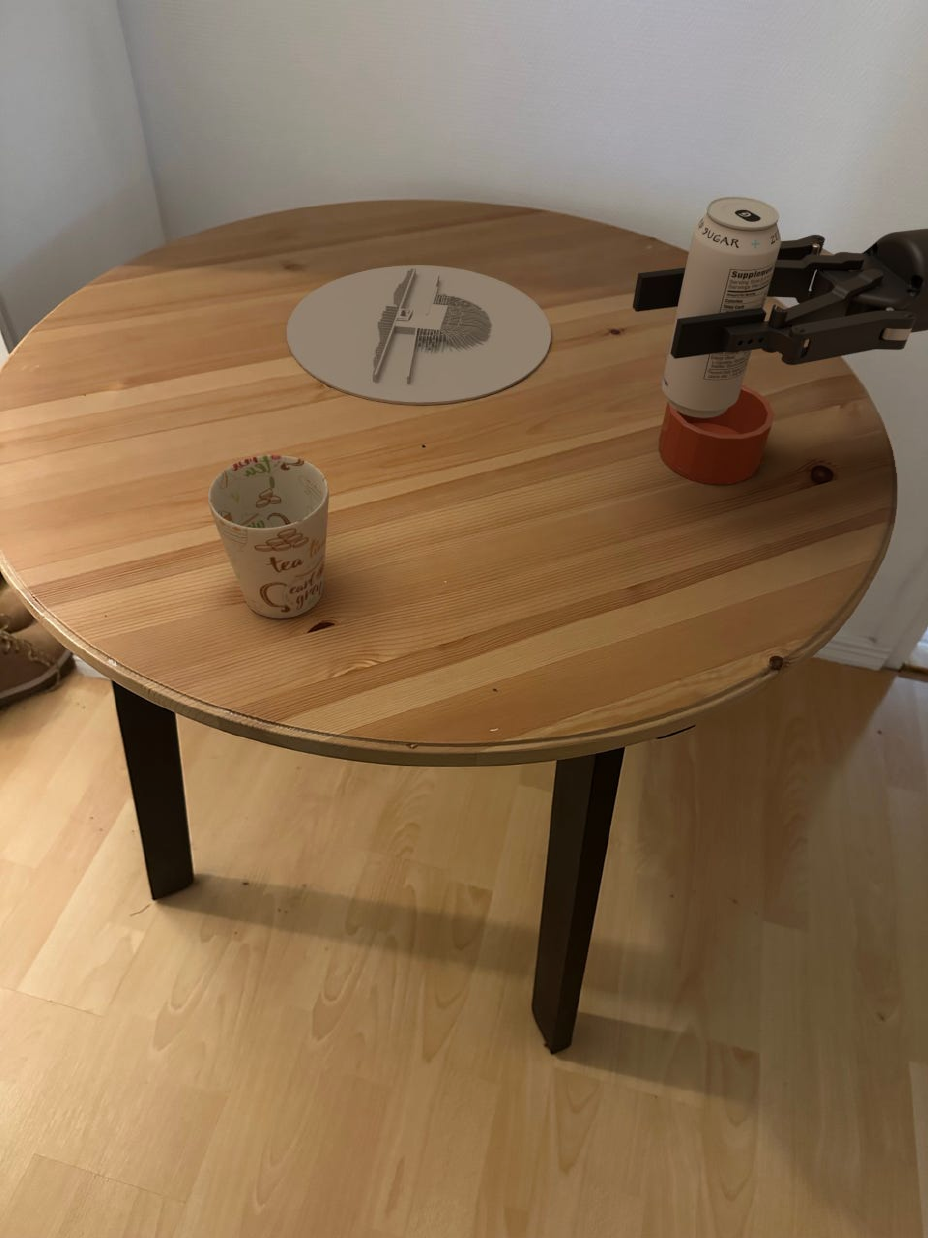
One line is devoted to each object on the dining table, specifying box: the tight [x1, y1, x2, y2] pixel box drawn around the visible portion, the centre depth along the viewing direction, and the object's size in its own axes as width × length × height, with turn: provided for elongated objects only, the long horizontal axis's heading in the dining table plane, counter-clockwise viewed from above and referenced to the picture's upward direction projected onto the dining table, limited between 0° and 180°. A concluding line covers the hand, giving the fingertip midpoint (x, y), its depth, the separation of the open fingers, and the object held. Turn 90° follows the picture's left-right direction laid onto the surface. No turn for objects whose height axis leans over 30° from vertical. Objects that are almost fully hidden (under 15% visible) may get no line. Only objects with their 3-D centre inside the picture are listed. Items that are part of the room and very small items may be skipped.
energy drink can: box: [661, 196, 782, 418], centre depth 70 cm, size 6×6×15 cm
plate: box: [286, 264, 552, 406], centre depth 101 cm, size 28×28×1 cm
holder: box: [658, 384, 775, 486], centre depth 86 cm, size 9×9×5 cm
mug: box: [207, 454, 330, 620], centre depth 72 cm, size 8×13×10 cm, turn 14°
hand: (656, 314), depth 69 cm, fingers closed on energy drink can, 6 cm apart
